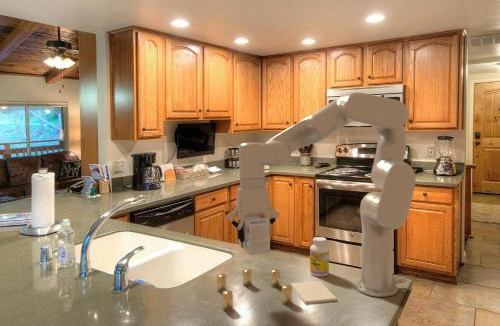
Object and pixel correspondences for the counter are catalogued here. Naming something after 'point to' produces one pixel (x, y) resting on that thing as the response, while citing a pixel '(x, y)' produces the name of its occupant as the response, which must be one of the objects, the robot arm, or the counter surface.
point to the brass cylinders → (247, 281)
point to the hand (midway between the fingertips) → (254, 239)
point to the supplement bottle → (319, 257)
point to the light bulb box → (256, 235)
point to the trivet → (313, 292)
